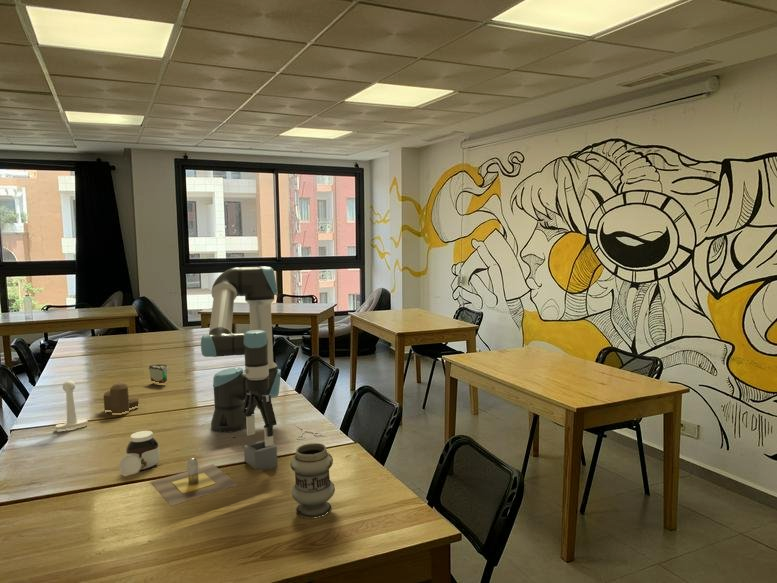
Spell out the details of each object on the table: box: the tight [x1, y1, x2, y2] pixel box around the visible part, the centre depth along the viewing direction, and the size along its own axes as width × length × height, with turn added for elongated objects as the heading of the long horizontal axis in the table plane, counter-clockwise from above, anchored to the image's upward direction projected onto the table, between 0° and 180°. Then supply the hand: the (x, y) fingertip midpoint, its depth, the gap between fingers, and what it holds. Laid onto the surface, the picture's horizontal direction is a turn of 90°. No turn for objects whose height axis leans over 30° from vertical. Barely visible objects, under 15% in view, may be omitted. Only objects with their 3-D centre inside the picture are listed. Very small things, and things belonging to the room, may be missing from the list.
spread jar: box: [118, 430, 160, 477], centre depth 181 cm, size 12×11×12 cm
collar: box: [243, 439, 278, 472], centre depth 182 cm, size 8×8×7 cm
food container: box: [148, 363, 169, 383], centre depth 288 cm, size 12×6×10 cm, turn 58°
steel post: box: [186, 457, 199, 485], centre depth 167 cm, size 3×3×8 cm
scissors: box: [296, 428, 326, 441], centre depth 215 cm, size 11×1×20 cm
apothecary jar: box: [289, 442, 336, 519], centre depth 152 cm, size 12×12×18 cm
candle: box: [103, 380, 140, 414], centre depth 243 cm, size 14×14×15 cm
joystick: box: [55, 380, 89, 431], centre depth 223 cm, size 11×8×20 cm
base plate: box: [150, 463, 239, 507], centre depth 168 cm, size 20×20×2 cm
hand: (259, 439), depth 181 cm, fingers open, 13 cm apart
